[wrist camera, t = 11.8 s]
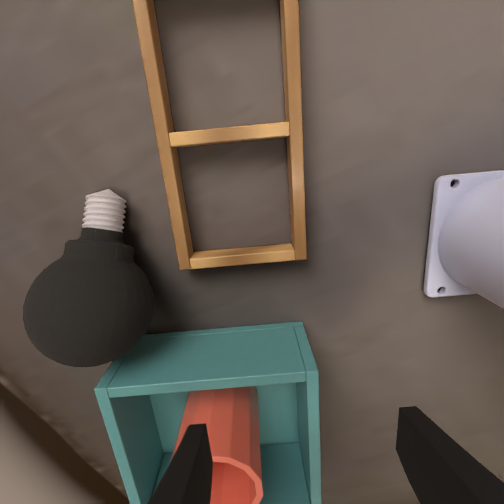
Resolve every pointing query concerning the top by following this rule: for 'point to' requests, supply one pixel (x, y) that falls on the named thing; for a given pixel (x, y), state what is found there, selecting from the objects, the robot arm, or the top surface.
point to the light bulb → (91, 293)
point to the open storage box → (217, 377)
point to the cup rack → (173, 140)
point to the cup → (229, 441)
